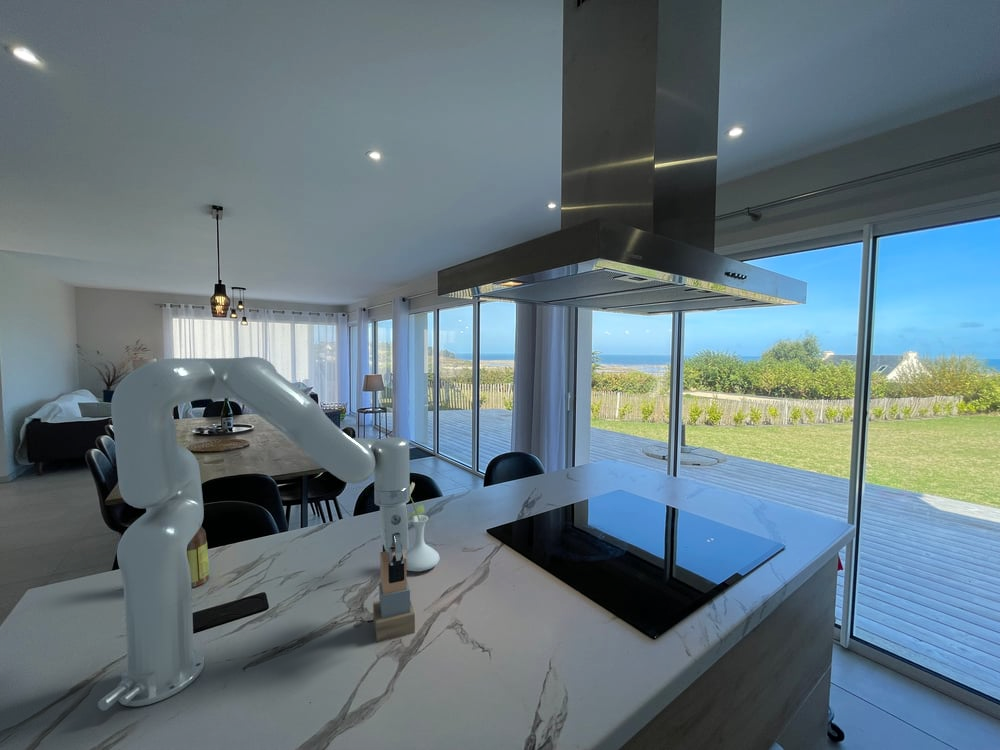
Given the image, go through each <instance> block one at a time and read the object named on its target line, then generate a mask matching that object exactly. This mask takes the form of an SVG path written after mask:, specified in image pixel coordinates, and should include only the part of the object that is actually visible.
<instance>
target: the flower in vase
mask: <svg viewBox="0 0 1000 750" xmlns="http://www.w3.org/2000/svg"><path fill="white" fill-rule="evenodd" d="M415 485H416V484H415V482H413V481H412V482H411V483H410V501H411V503H412V505H413V507H414V511H412V512H411V513H410V514H409V515H408V516H407V520H408V521H409V520H410V521H411V522H412V524H413V526H414V530H415V543H414V544H413V545H412V546H411V547H409V548H408V549H407V550H406V551H404V553H405V556H406V564H407V571H410V572H423V571H427V570H430V569H433V568H434V567H436V566H437V565H438V564H439V562H440V560H441V558H440V554H439V553H438V551H437V550H435V549H434V548H433V547H432V546H430V545H428V544H426V542H425V540H424V539H425V538H424V537H425V535H424V534H425V525H426V523H427V521H428V520H429V517H428V515H423V514H424V513H425V506H424V504H423V502H421V503H420V504H419V505H418V506H417V507H416V505H415V502H414V501H413V500H414V499H413V497H411V494H412V493H413V491H414V489H415Z"/></svg>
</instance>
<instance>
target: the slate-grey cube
mask: <svg viewBox="0 0 1000 750" xmlns="http://www.w3.org/2000/svg"><path fill="white" fill-rule="evenodd" d="M378 584H379V585H378V586H379V587H378V588H379V589H378V591H379V595H378V596H379V600H378V601H380V609H381V616H382V618H386V617H391V616H395V615H400V614H405V613H409V612H410V601H411V589H410V586H409V582H408V581H407V589H406V590H401V591H396V592H392V593H387V594H383V591H382V586H381V580H379V582H378Z"/></svg>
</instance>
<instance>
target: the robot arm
mask: <svg viewBox="0 0 1000 750" xmlns="http://www.w3.org/2000/svg"><path fill="white" fill-rule="evenodd" d="M214 399H217V400H218V399H234V400H236V401H237V402H239V403H241V404H242V405H243V406H244V407H246V408H247V409H249V411H252V412H253V413H255V415H257V416H259V418H261V419H263V420H264V421H265V422H267V423H268V424H269V425H272V426H273V428H276V430H278V431H279V432H280V433H282V434H284V435H285V437H287V439H288V440H290V442H292V443H293V444H294V445H295V446H297V447H298V448H299V449H300V450H301V451H302V452H303V453H304V454H305V455H307V457H309V458H310V459H311V460H313V461H314V462H315V463H316V464H317V465H319V466H320V467H322V468H323V469H324V470H326V471H328V472H329V473H330V474H331V475H333V476H334V477H336V478H337V479H339V480H341V481H343V482H345V483H348V484H351V485H352V484H354V485H355V484H356V485H357V484H360V483H363V482H365V481H367V480H368V479H370V478H371V477H372V475H373V477H374V480H373V481H374V483H373V484H374V492H373V493H374V504H375V505H376V506H377V507H379V524H380V525H379V527H380V536H381V540H382V552H385V551H386V552H388V553H389V559H390V564H388V573H389V583H395V582H400V581H403V580H404V558H403V550H406V551H407V550H408V549H410V546H409V545H410V544H409V525H408V524H409V523H408V521H409V520H407V519H408V511H407V510H408V509H407V503H409V502H410V501H411V499H410V495H411V494H410V486H411V483H410V482H411V481H410V477H411V476H410V473H411V471H410V470H411V469H410V443H409V441H408V440H407V439H406V438H403V437H399V436H398V437H395V436H394V437H393V436H392V437H391V436H390V437H384V438H365V437H363V438H362V437H351V436H349V435H348V434H347V433H345V432H344V431H343V430H342V429H341V428H340V427H339V426H338V425H336V424H335V423H334V422H333V421H332V420H331V419H330V418H329V417H328V415H327V414H326V413H325V412H324V410H323V409H322V408H321V406H320V405H319V404H318V403H317V401H316V400H314V399H313V398H312V397H311V396H309V395H308V394H307V393H305V392H304V391H303V390H301V389H299V388H298V387H297V386H295V385H294V383H292V382H291V381H289V380H288V379H286V378H285V377H284V376H283V375H281V374H280V373H279V372H278V370H277V369H276V367H275V366H274V364H273V363H272V362H270V361H269V360H267V359H265V358H263V357H259V356H244V357H233V358H231V357H229V358H227V357H225V358H224V357H223V358H222V357H221V358H220V357H219V358H216V357H214V358H212V357H211V358H210V357H209V358H207V357H205V358H204V357H203V358H197V357H196V358H193V357H192V358H190V357H189V358H182V357H181V358H180V357H179V358H176V357H175V358H173V357H172V358H163V359H159V360H156V361H152V362H149V363H147V364H144V365H141V366H140V367H138V368H136V369H134V370H132V371H131V372H129V373H128V374H127V375H125V376H124V377H123V378H122V380H120V382H119V383H118V384H117V386H116V387H115V389H114V391H113V394H112V397H111V403H110V409H111V410H110V413H111V420H112V427H113V428H112V429H113V434H114V435H113V436H114V451H115V460H116V467H117V469H116V471H117V479H118V480H117V482H118V489H119V493H120V496H121V498H122V499H123V501H124V502H125V503H126V504H128V505H129V506H132V507H133V508H137V509H145V510H146V511H145V513H143V514H142V515H141V516H140V517H138V518H137V519H136V520H135V521H134V522H133V523H132V524H131V525H130V526H128V527H127V529H126V530H125V531H124V533H123V534H122V536H121V537H120V540H119V542H118V545H117V548H116V550H117V551H116V557H117V564H118V568H119V572H120V575H121V579H122V586H123V597H124V602H123V603H124V614H125V615H124V616H125V636H126V637H125V638H126V639H125V641H126V661H127V663H126V664H127V669H126V670H125V671H124V672H123V673H121V676H120V677H121V678H120V679H121V681H120V682H119V683H118V684H117V686H116V688H114V689H113V690H112V691H110V692H108V693H107V694H106V695H105V696H104V697H102V698H101V699H100V700H99V701H98V702H97V707H98V708H99V709H100V711H104V712H105V711H107V710H108V709H109V708H111V707H112V706H113V705H115V704H116V703H117V702H118V703H119V704H120V705H122V706H127V707H143V706H147V705H148V706H149V705H151V704H154V703H158V702H160V701H164V700H166V699H168V698H170V697H171V696H173V695H176V694H177V693H180V692H181V691H182V690H184V689H185V688H186V687H187V686H189V685H190V684H191V683H193V682H194V681H195V680H196V679H197V678H198V677H199V676H200V674H201V673H202V671H203V670H204V667H205V657H204V655H203V653H201V652H200V651H199V650H195V649H194V648H195V647H194V623H193V622H194V619H193V595H192V594H193V592H192V588H191V572H190V566H189V562H188V559H187V545H188V544H189V542H190V541H191V539H192V538H193V537H194V536H195V534H196V533H197V532H198V530H199V528H200V527H201V526H202V524H203V521H204V517H205V516H204V513H205V512H204V511H205V510H204V509H205V508H204V499H203V490H202V489H203V488H202V480H201V472H200V471H201V470H200V465H199V462H198V460H197V457H196V456H195V455H194V454H193V452H191V450H189V449H187V448H186V447H184V446H181V445H178V441H177V427H176V424H175V421H174V418H173V409H174V408H175V407H177V406H180V405H183V404H187V403H190V402H194V401H199V400H214ZM373 473H374V474H373ZM392 553H395V555H394V556H393V557H392Z"/></svg>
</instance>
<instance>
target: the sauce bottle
mask: <svg viewBox="0 0 1000 750" xmlns="http://www.w3.org/2000/svg"><path fill="white" fill-rule="evenodd" d="M208 551H209V550H208V541H207V533H206V530H205V528H204V527H203V526H202V525H201V527H200V528H199V530H198V532H197V533H196V534H195V536H194V537H193V538H192V539H191V541H190V542H189V544H188V545H187V559H188V562H189V566H190V572H191V588H197V587H200V586H202V585H204V584H206V583H207V582H208V581H209V579H210V575H209V574H210V563H209V554H208V553H209V552H208Z"/></svg>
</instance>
